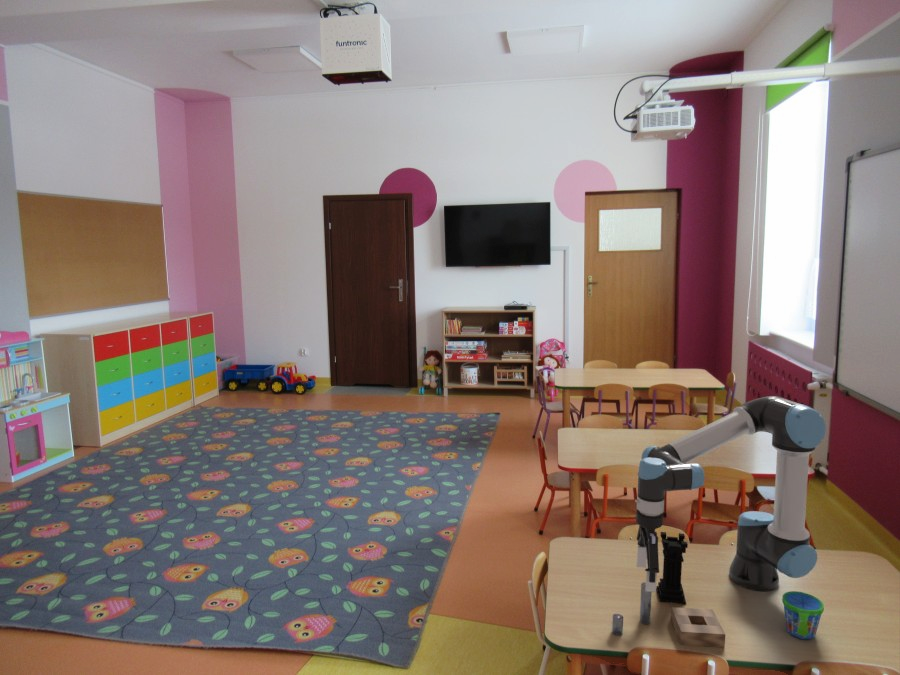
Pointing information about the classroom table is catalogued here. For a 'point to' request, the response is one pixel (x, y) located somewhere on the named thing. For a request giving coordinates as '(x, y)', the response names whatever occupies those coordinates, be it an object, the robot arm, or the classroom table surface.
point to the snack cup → (802, 614)
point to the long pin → (645, 605)
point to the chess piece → (672, 570)
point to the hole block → (697, 627)
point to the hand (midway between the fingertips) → (645, 578)
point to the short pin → (617, 624)
